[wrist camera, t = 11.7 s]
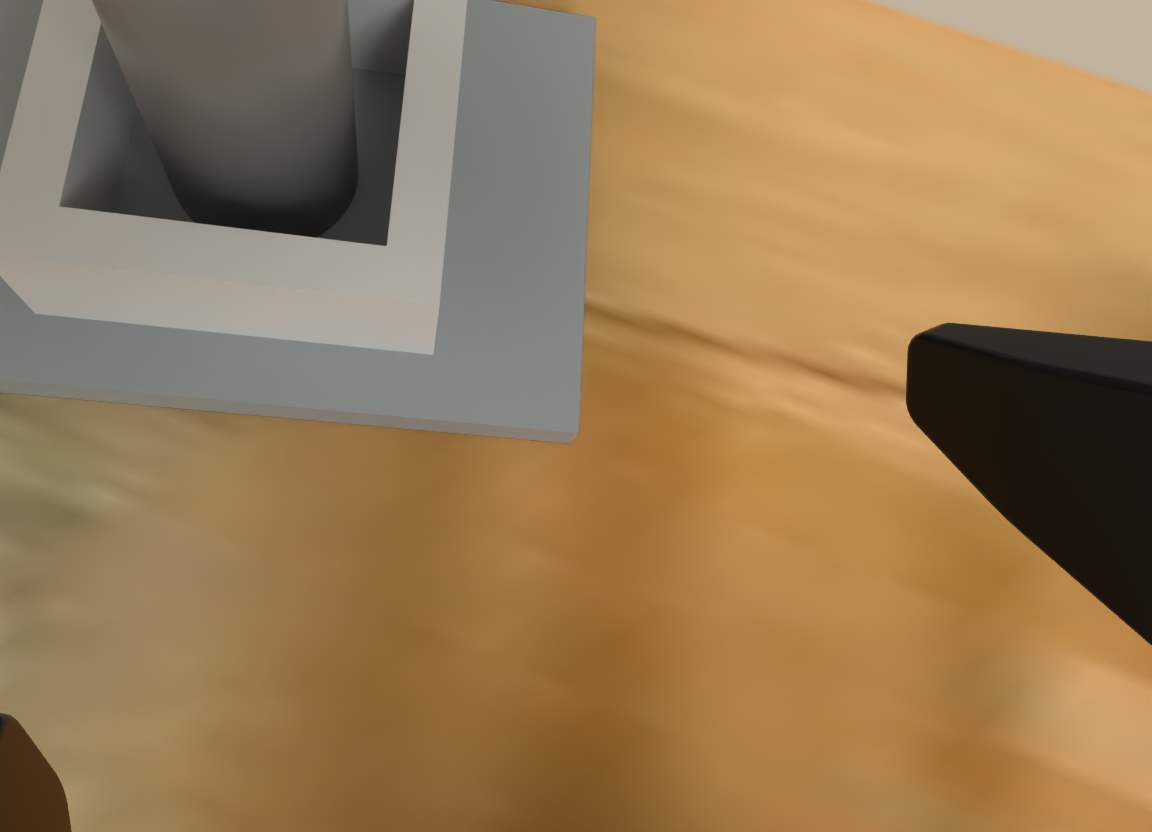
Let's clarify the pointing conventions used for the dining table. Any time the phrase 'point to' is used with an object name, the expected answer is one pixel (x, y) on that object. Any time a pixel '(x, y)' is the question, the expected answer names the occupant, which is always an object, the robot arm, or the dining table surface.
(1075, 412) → the robot arm
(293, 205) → the peg
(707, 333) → the dining table surface
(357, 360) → the dock
